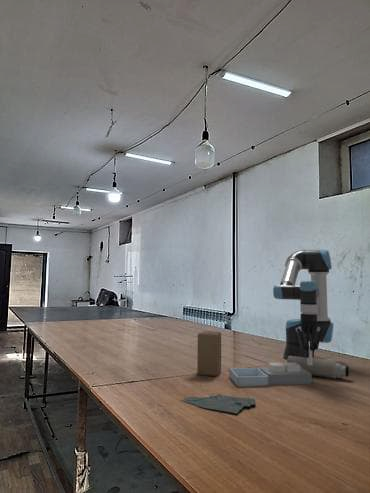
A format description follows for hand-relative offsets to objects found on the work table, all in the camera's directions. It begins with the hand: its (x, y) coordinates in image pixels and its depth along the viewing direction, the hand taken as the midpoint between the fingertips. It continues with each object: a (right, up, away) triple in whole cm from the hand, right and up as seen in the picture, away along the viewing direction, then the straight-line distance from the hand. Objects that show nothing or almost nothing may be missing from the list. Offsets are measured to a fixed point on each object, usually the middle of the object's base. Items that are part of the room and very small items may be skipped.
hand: (309, 364), depth 171 cm
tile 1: (-16, -2, -2) cm, 16 cm away
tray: (-29, -7, -3) cm, 30 cm away
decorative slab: (-45, -4, -35) cm, 57 cm away
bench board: (-12, -7, -2) cm, 14 cm away
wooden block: (-46, -8, +10) cm, 48 cm away
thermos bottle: (-5, -5, +16) cm, 17 cm away
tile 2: (-9, -3, -1) cm, 9 cm away
